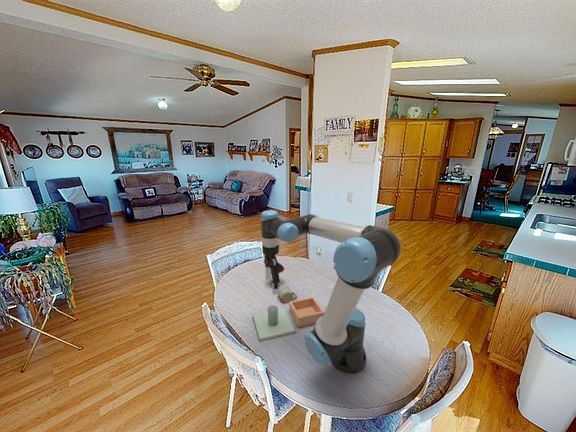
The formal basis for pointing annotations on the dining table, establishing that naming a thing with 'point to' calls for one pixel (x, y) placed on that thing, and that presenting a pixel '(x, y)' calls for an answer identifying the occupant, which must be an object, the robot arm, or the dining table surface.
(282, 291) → the ceramic mug
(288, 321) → the lid
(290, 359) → the dining table surface
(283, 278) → the dining table surface
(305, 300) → the dish
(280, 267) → the decorative mushroom
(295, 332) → the mat
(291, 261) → the dining table surface
